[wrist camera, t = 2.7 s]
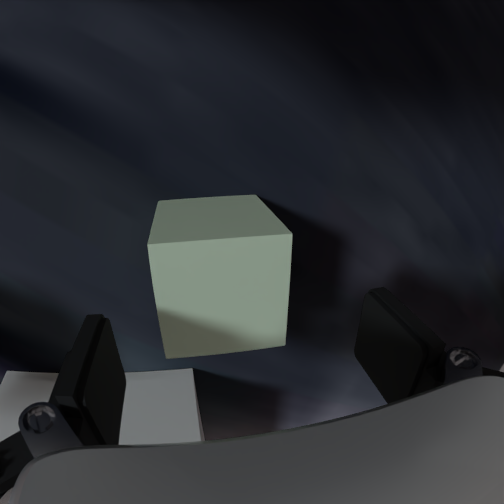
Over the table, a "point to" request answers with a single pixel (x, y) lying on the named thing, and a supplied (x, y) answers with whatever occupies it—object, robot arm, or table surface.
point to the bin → (134, 408)
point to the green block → (219, 275)
